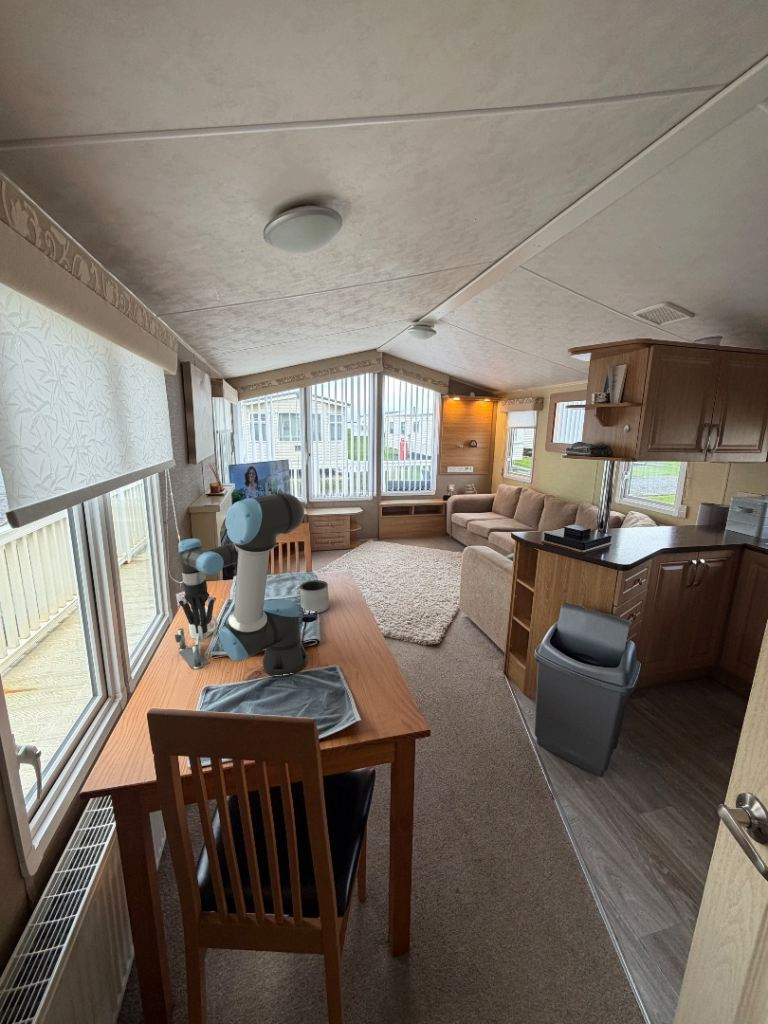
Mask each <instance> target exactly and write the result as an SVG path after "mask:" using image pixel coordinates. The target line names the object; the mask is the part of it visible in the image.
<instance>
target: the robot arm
mask: <svg viewBox="0 0 768 1024" xmlns="http://www.w3.org/2000/svg"><path fill="white" fill-rule="evenodd" d="M304 518H305V508H304V506H303V504H302V502H301V500H299V498H298V497H296V496H295V495H293V494H290V493H288V492H287V493H286V492H279V493H273V494H268V495H263V496H258V497H252V498H251V497H250V498H244V499H242V500H239V501H236V502H234V503H233V504H231V505H230V507H229V508H228V509H227V512H226V515H225V520H224V521H225V529H226V534H227V536H228V538H229V540H230V541H231V543H227V544H223V545H220V546H216V547H212V548H207V549H206V548H203V543H202V541H201V539H199V538H188V539H187V538H186V539H182V540H181V541H179V542H178V555H179V557H178V558H179V562H180V568H181V575H182V576H181V577H182V582H183V583H184V584H183V589H184V597H183V598H181V599H180V600H179V601H178V604H179V605H180V606H181V608H182V610H183V612H184V614H185V617H186V619H187V621H188V622H189V624H190V625H192V624H193V625H195V628H196V633H199V640H200V642H201V643H204V642H205V641H206V640H207V637H206V632H207V624H209V623H210V622H211V623H212V616H213V611H214V605H215V603H216V601H217V598H216V597H212V596H210V594H209V592H208V584H207V576H206V575H209V576H214V575H216V574H218V573H220V571H222V570H223V568H226V567H229V566H231V565H235V564H237V566H236V579H235V580H236V581H235V593H234V608H233V611H232V612H231V613H230V614H229V616H228V619H227V621H228V622H227V625H226V626H223V627H222V628H221V629H219V632H218V636H219V637H218V638H219V642H220V644H221V647H222V648H223V651H224V652H225V654H226V655H227V656H228V658H230V659H231V661H233V662H236V663H238V662H242V661H245V660H246V659H249V658H251V657H253V656H254V655H256V654H259V653H260V652H262V651H264V650H265V651H264V655H263V659H262V668H263V671H264V673H265V674H267V675H269V676H271V675H283V674H290V673H295V674H297V673H298V672H301V671H302V670H304V668H305V667H306V665H307V664H308V655H307V652H306V649H305V648H304V645H303V643H302V640H301V631H300V630H301V626H300V612H299V606H298V605H297V603H296V602H294V601H293V600H290V599H284V598H283V599H272V600H268V601H265V597H266V588H267V587H266V586H267V578H268V570H269V561H270V560H269V559H270V558H269V557H270V551H272V550H273V549H274V548H275V547H276V545H277V538H279V537H281V535H285V534H286V535H287V534H289V533H291V532H293V531H294V530H296V529H297V528H299V527H300V526H301V524H302V523H303V521H304ZM206 602H207V607H208V609H207V616H206V610H205V606H206ZM191 609H192V611H191ZM192 612H193V613H192ZM199 613H200V615H199ZM188 622H187V623H188ZM200 622H201V623H200ZM189 624H188V625H189ZM296 672H297V673H296Z"/></svg>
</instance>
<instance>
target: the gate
mask: <svg viewBox="0 0 768 1024" xmlns="http://www.w3.org/2000/svg"><path fill="white" fill-rule="evenodd" d="M194 645H199V653H200V651H201V650H202V649H201V648H202V642H200V640H199V633H196V638H195V639H194ZM201 652H202V651H201Z"/></svg>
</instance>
